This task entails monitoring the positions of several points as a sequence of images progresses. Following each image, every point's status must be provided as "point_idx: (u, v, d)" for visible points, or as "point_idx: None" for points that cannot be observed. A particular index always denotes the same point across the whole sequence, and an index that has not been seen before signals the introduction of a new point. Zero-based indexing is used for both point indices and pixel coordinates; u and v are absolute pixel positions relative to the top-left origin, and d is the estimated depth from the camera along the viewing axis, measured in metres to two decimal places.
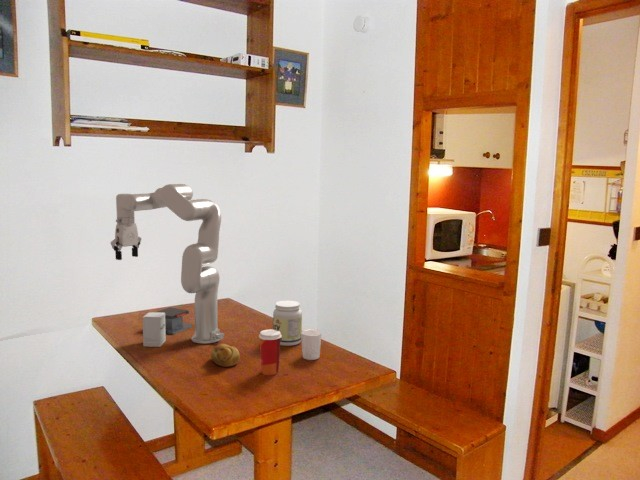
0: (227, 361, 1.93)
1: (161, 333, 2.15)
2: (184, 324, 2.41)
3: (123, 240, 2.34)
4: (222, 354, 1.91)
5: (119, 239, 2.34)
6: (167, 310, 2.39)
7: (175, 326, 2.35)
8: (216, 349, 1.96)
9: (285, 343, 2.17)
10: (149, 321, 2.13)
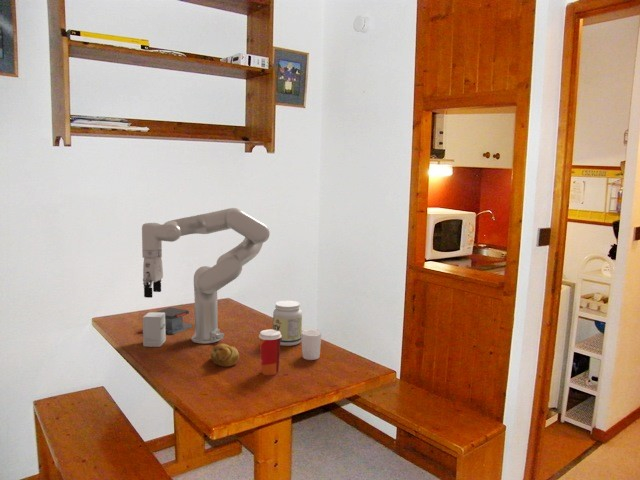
0: (226, 361, 1.93)
1: (161, 333, 2.15)
2: (184, 324, 2.41)
3: (155, 275, 2.10)
4: (221, 354, 1.91)
5: (150, 274, 2.09)
6: (167, 310, 2.39)
7: (175, 326, 2.35)
8: (215, 349, 1.96)
9: (285, 343, 2.17)
10: (149, 321, 2.13)
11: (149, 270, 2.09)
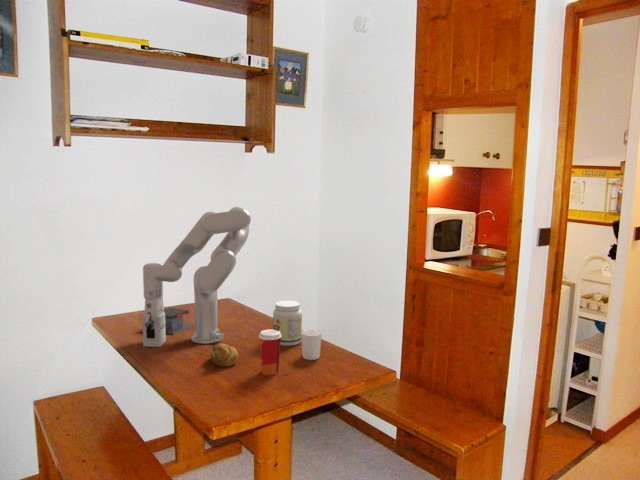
0: (225, 361, 1.93)
1: (161, 333, 2.15)
2: (184, 324, 2.41)
3: (156, 315, 2.12)
4: (219, 354, 1.91)
5: (151, 315, 2.11)
6: (167, 310, 2.39)
7: (175, 326, 2.35)
8: (214, 349, 1.96)
9: (285, 343, 2.17)
10: None
11: (150, 311, 2.11)
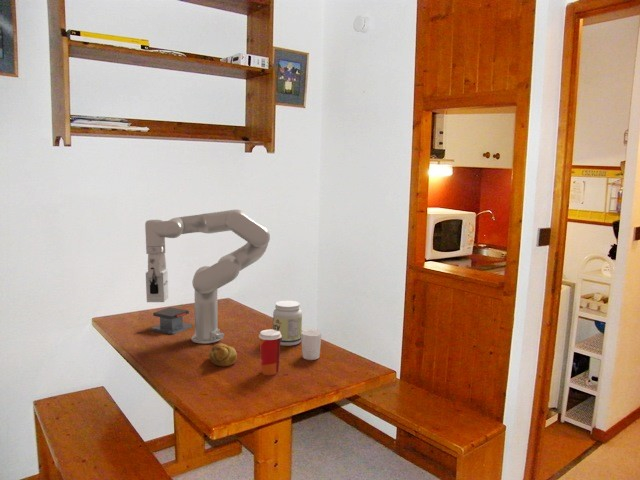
0: (223, 361, 1.93)
1: (164, 289, 2.17)
2: (184, 324, 2.41)
3: (159, 271, 2.13)
4: (218, 354, 1.91)
5: (155, 270, 2.12)
6: (167, 310, 2.39)
7: (175, 326, 2.35)
8: (213, 348, 1.96)
9: (285, 343, 2.17)
10: None
11: (154, 266, 2.12)
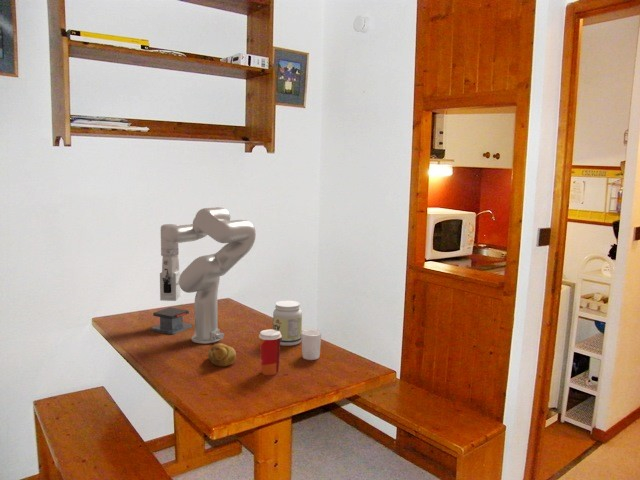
0: (222, 361, 1.93)
1: (177, 288, 2.34)
2: (184, 324, 2.41)
3: (172, 272, 2.30)
4: (217, 354, 1.92)
5: (168, 271, 2.29)
6: (167, 310, 2.39)
7: (175, 326, 2.35)
8: (212, 348, 1.97)
9: (285, 343, 2.17)
10: None
11: (167, 267, 2.29)
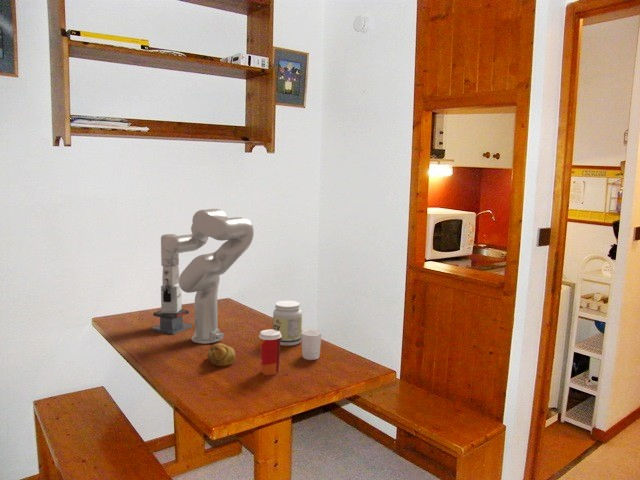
0: (222, 361, 1.93)
1: (178, 301, 2.35)
2: (184, 324, 2.41)
3: (173, 282, 2.31)
4: (216, 354, 1.92)
5: (169, 281, 2.30)
6: None
7: (175, 326, 2.35)
8: (212, 348, 1.97)
9: (285, 343, 2.17)
10: None
11: (168, 277, 2.30)
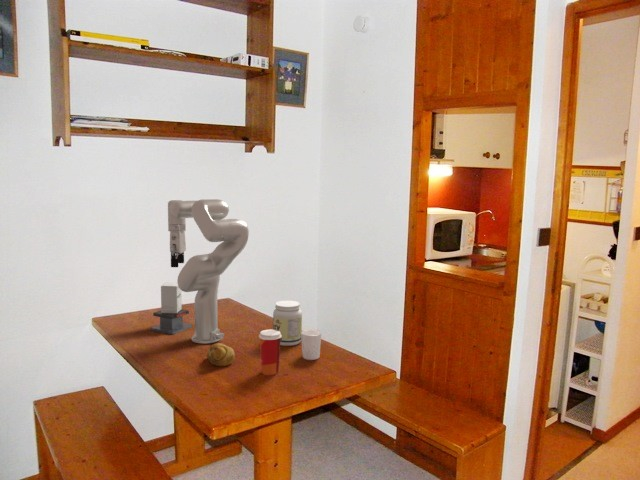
0: (220, 360, 1.93)
1: (178, 301, 2.35)
2: (184, 324, 2.41)
3: (180, 247, 2.33)
4: (215, 353, 1.92)
5: (176, 246, 2.32)
6: None
7: (175, 326, 2.35)
8: (211, 348, 1.97)
9: (285, 343, 2.17)
10: (167, 290, 2.33)
11: (175, 242, 2.31)
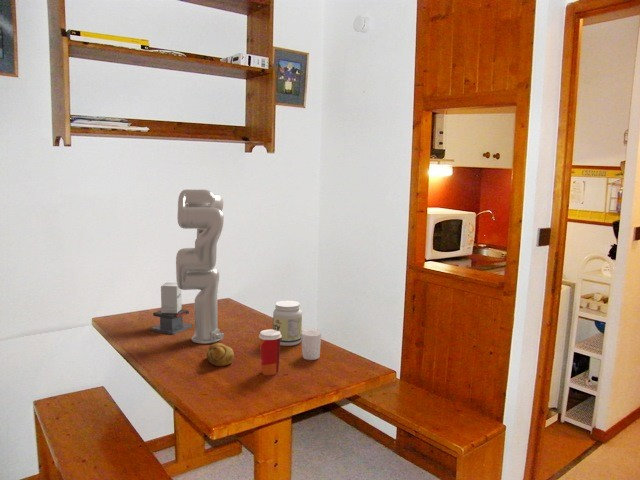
0: (219, 360, 1.93)
1: (178, 301, 2.35)
2: (184, 324, 2.41)
3: None
4: (214, 353, 1.92)
5: None
6: None
7: (175, 326, 2.35)
8: (210, 348, 1.97)
9: (285, 343, 2.17)
10: (167, 290, 2.33)
11: None
